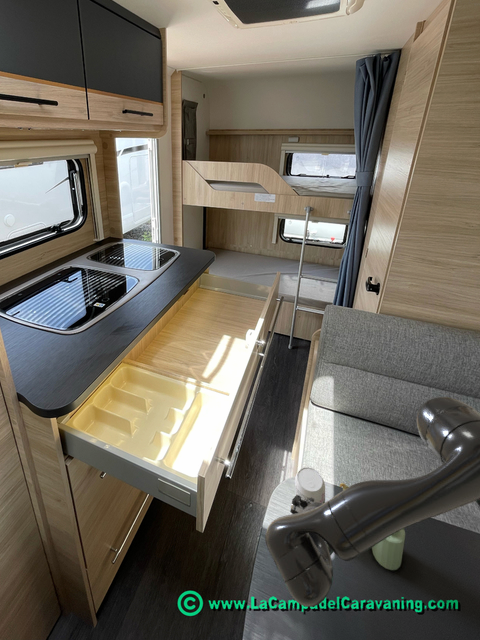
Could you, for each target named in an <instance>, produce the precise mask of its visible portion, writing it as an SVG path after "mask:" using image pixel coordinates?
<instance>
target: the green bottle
mask: <svg viewBox="0 0 480 640" xmlns="http://www.w3.org/2000/svg"><path fill="white" fill-rule="evenodd" d="M405 538H406V532H405V528H404V529H402V530H400V531H398V532H396V533H394V534H393V535H391V536H389V537H387V538H386V539H384V540H383V541H381V542H380V543H378V544H376V545H375V546H373V547H372V548H371V550H372V554H373V556H374V559H375V561H376V562H378V564H379V565H380V566H382V567H383V568H385V569H386V570H390V571H397V570H399V568H401V565H402V561H403V554H404V553H403V552H404V547H405Z"/></svg>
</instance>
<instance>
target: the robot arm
mask: <svg viewBox="0 0 480 640" xmlns="http://www.w3.org/2000/svg"><path fill="white" fill-rule="evenodd" d="M416 429H417V432H418V434H419V437H420V439H421V440H422V442H423V443H424V445H425V446H426V447H427V448H428V449H429V451H431V453H433V455H434V456H435V457H436V458H437V459H438V460H439V462H440V463H442V464H441V465H439V466H438V467H437V468H435V469H434V470H433V471H432V470H431V472H428V473H426V474H424V475H421V476H417V477H413V478H406V479H370V480H363V481H360V482H357V483H356V482H355V483H354V484H351V485H350V486H348V488H347V489H345V490H343V489H342V491H340V492H339V493H337V494H336V495H334V496H333V497H332V498H330V499H328V500H327V501H325V503H324V504H322V503H317V502H315V503H314V498H312V497H311V498H310V499H309V498H304V500H302V499H301V496H299V495H296V494H295V496H294V497H293V498H292V500H291V504H290V505H291V506H290V510H289V512H290V513H291V514H288V515H287V514H285V515H283V516H280V517H277V518H275V519H274V520H273V521H271V522H270V523H269V525H268V527H267V529H266V532H265V538H264V539H265V540H264V541H265V545H266V547H267V550H268V552H269V554H270V556H271V558H272V561H273V562H274V564H275V566H276V568H277V570H278V572H279V574H280V576H281V578H282V580H283V582H284V584H285V586H286V589H287V590H288V592H289V594H290V596H291V597H292V599H293V600H294V601H295V602H296V603H298V604H299V605H301V606H303V607H306V608H313V607H316V606H318V605H321V603H322V602H323V601H324V600H325V599H327V596H328V595H329V593H330V591H331V588H332V585H333V579H334V570H333V569H334V567H333V561H332V555H333V554H335V555H336V556H337V557H338V558H339V559H341V560H342V561H344V562H349V561H352V560H355V559H356V558H358V557H359V556H361V555H363V554H364V553H366V552H367V551H369V550H370V549H372V547H373V546H375V545H376V544H378V543H380V542H381V541H383V540H384V539H386V538H387V537H389V536H391V535H393V534H394V533H396V532H398V531H400V530H402V529H404V530H405V529H407V528H408V527H411V526H414V525H415V524H418V523H420V522H423V521H426V520H429V519H432V518H434V517H437V516H440V515H443V514H446V513H449V512H452V511H454V510H456V509H458V508H462V507H464V506H467V505H470V504H472V503H475V502H476V504H477V505H478V506H479V507H480V412H479V411H478V410H477V409H475V408H474V407H472V406H470V404H467V403H465V402H464V401H461V400H458V399H457V398H452V397H448V396H436V397H433V398H430V399H428V400H426V401H424V403H422V404H421V406H420V407H419V409H418V412H417V415H416Z"/></svg>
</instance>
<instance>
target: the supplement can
mask: <svg viewBox="0 0 480 640" xmlns="http://www.w3.org/2000/svg"><path fill="white" fill-rule="evenodd" d="M294 485H295V486H294V487H295V489H294V490H295V496H296V495H299V496H301V499H302V500H304V498H309V499H310V498H311V497H312V498H314V503H315V502H317V503H322V504H324V503H326V484H325V481H324V478H323V476H322V475H321V473H320V472H319V471H317V469H315V468H312V467H307V466H306V467H302V468H300V469H299V470H298V472H296V474H295V478H294Z"/></svg>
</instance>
